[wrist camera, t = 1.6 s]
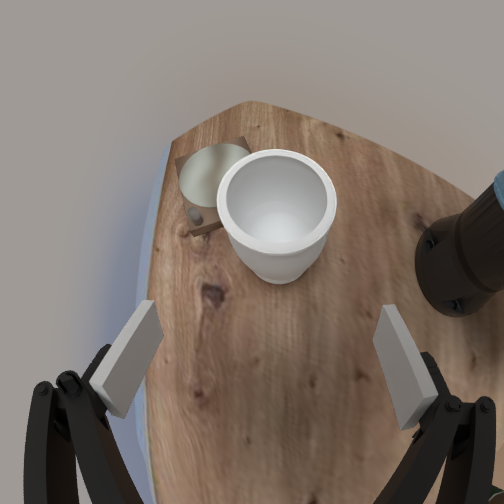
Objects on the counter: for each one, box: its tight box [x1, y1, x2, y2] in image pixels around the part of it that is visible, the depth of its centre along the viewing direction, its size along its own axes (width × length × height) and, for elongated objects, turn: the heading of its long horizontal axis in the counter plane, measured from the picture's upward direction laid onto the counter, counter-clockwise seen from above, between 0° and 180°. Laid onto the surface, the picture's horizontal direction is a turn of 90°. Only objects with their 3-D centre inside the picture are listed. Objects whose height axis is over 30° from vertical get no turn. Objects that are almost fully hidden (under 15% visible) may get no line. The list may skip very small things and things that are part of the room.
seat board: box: [175, 136, 252, 237], centre depth 39 cm, size 12×14×5 cm
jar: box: [217, 149, 337, 284], centre depth 30 cm, size 11×10×15 cm
